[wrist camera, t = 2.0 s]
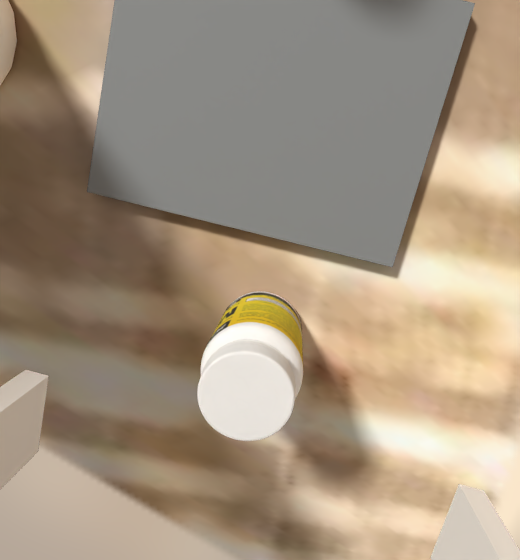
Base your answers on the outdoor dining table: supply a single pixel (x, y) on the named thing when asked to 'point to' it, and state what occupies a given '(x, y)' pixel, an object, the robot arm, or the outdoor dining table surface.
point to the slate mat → (277, 113)
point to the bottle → (6, 38)
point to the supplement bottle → (252, 368)
